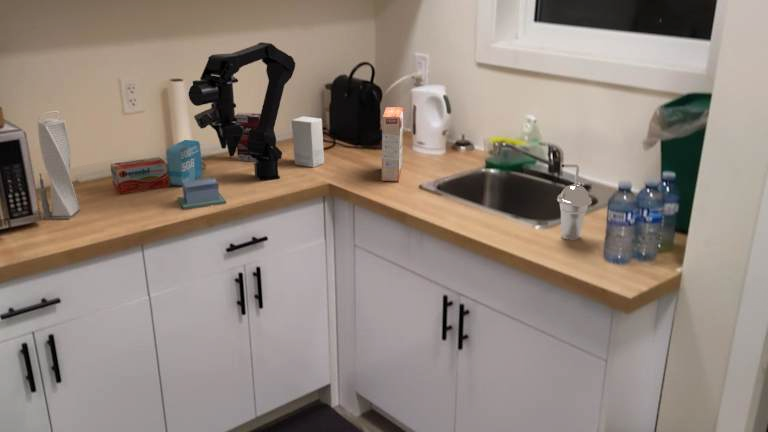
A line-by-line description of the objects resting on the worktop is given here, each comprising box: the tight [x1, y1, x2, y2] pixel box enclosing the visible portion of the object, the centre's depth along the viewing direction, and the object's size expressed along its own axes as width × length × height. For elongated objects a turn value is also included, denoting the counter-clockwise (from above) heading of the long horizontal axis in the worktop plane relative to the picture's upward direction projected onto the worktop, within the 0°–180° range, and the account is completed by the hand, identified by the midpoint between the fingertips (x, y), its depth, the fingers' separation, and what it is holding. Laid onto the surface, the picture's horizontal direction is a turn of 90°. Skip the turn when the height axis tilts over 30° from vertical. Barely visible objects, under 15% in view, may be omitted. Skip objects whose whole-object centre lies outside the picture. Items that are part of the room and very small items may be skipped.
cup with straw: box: [556, 163, 593, 241], centre depth 178 cm, size 8×9×20 cm
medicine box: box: [110, 156, 170, 196], centre depth 214 cm, size 15×8×8 cm, turn 122°
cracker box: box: [381, 106, 404, 182], centre depth 224 cm, size 14×6×21 cm, turn 175°
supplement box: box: [235, 112, 261, 163], centre depth 241 cm, size 9×5×16 cm, turn 80°
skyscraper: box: [36, 110, 81, 221], centre depth 189 cm, size 8×8×28 cm
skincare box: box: [291, 115, 325, 168], centre depth 236 cm, size 8×7×16 cm
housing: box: [181, 177, 220, 204], centre depth 203 cm, size 9×5×5 cm, turn 116°
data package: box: [166, 139, 203, 187], centre depth 219 cm, size 12×4×12 cm, turn 163°
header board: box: [176, 192, 227, 211], centre depth 203 cm, size 12×9×4 cm
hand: (227, 152), depth 209 cm, fingers open, 9 cm apart
